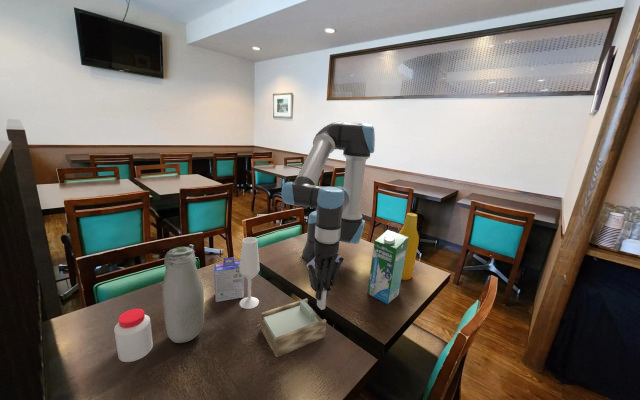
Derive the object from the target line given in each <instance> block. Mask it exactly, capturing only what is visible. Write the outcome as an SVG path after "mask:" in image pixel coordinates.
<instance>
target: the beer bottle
mask: <svg viewBox="0 0 640 400" xmlns="http://www.w3.org/2000/svg"><path fill="white" fill-rule="evenodd" d="M417 224H418V214H417V213H413V212H407V213H406V216H405V220H404V223H403V226H402V227H401V229H400V230H399V232H398V234H401V235H404V236H407V237H409V238H408V244H407V250H406V255H405V261H404V267H403V272H402V278H401V280H404V281H405V280H406V281H407V280H410V279H412V277H413V276H414V275H413V274H414V267H415V263H416V258H417V251H418V247H419V242H420V241H419V240H420V237H419V234H418V230H417Z"/></svg>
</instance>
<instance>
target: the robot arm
mask: <svg viewBox="0 0 640 400" xmlns="http://www.w3.org/2000/svg"><path fill="white" fill-rule="evenodd" d="M375 134H376V133H375V127H374V126H373V124H368V123H363V122H362V123H360V122H344V121H336V122H331V123H329V124H327V125H326V126H324V127H322V128H321V129H320V130H319V131H318V132H317V133H316V134H315V136H314V137H313V141H312V146H311V149H310V151H309V153H308V154H307V156H306V158H305V160H304V162H303V165H302V167H301V168H300V169H299V172H298V173H297V176H296V178H295V179H294V180H293V181H286V182H285V183H284V184H283V186H282V188H281V200H282V202H283V203H284V204H286V205H287V204H288V205H291V206H295V207H296V206H297V207H305V208H312V209H315V210H314V211H311V213H309V214H308V221H307V231H306V232H307V235H306V242H305V245H304V248H303V250H302V252H301V253H302V254H301V257H302V258H303V259H304V260H305V261H307V262H305V263H304V264H305V265H304V266H305V267H306V268H307V272H308V279H309V284H310V288H311V289H312V290H313V291H314V292H315V299H316V306H317V307H318V308H319V309H320V311H322V310H325V309H326V303H327V298H328V296H329V292H330V291H332V289H331V287H334V286H335V284H336V280H337V277H338V274H339V271H340V268H341V265H342V263H344V262H343V261H344V258H343V257H342V256H341V255H340V254H339V250H340V249H339V248H340V242H341V243H348V244H354V245H356V244H357V245H358V244H359V243H360V242H361V239H362V235H363V231H364V227H365V224H366V220H364V219H363V214H362V213H361V205H362V194H363V189H364V188H363V187H364V181H365V171H366V162H367V160H368V159H370V158H371V154H374V152H375V146H376V145H375V143H376V142H375V141H376V139H375V138H376V137H375ZM335 150H340V151H343V154H342V155H343V156H344V157H345V166H344V167H345V168H344V178H343V186H339V185H338V186H322V185H317V184H318V181H319V180H320V178H321V174H322V172H323V170H324V168H325V165H326V163H327V161H328V159H329V156H330V154H332V153H333V152H334V151H335ZM315 265H316V266H315Z"/></svg>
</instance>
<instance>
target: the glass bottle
mask: <svg viewBox="0 0 640 400" xmlns="http://www.w3.org/2000/svg"><path fill="white" fill-rule="evenodd" d="M163 263H164V265H165V269H164V270H165V273H164V277H163V282H162V286H161V301H162V307H163V313H164V326H165V329H166V333H167V336H168V338H169V339H170V340H171V341H172V342H173V343H176V344H182V343H187V342H189V341H192V340H194V339H195V338H196V337H198V336H199V334H200V333H201V332H202V330H203V328H204V326H205V296H204V294H205V293H204V285H203V282H202V278H201V276H200V274H199V272H198V269H197V266H196V255H195V250H194V249H193V248H191V247H189V246H177V247H175V248H171V249H170V250H168V251H167V252H166V254H165V256H164V262H163Z"/></svg>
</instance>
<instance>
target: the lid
mask: <svg viewBox="0 0 640 400" xmlns="http://www.w3.org/2000/svg"><path fill="white" fill-rule="evenodd" d="M302 300H303V299H302ZM299 301H300V300H299ZM311 308H312V307H311V306H310V305H309V304H307V303H306V302H305V300H303V301H300V305H299V306H296V307H293V308H290V309H287V310H284V311H281V312H278V313H275V314H272V315H269V316H266V317H264V322H265V324H266V325H267V327H268V329H269V331H270V332H271V334H272V336H273V338H274V339H275V341H276V337H279V336H282V335H284V334H287V333H289V332H292V331H295V330H297V329H300V328H303V327H305V326H308V325H310V324H313V323H316V322H318V320H317V318H316V317H315V314H317V313H316V311H315V310H314V309H313V308H312V309H313V310H314V311H313V310H312V309H311Z"/></svg>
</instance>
